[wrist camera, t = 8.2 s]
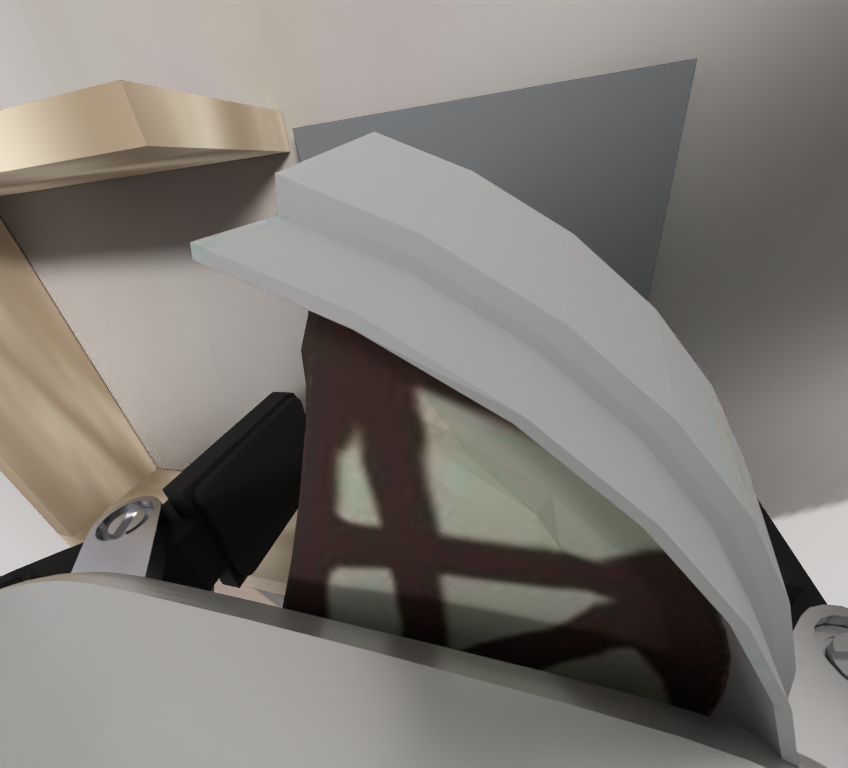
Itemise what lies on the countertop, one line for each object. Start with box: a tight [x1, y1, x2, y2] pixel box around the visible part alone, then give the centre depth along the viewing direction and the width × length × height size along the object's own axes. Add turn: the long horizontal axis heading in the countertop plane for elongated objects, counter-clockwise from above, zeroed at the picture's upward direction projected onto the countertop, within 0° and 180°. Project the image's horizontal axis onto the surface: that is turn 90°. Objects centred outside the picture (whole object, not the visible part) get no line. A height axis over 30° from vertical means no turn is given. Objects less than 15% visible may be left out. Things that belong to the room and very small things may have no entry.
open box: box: [0, 80, 298, 595], centre depth 15 cm, size 16×17×5 cm
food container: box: [190, 132, 799, 768], centre depth 9 cm, size 12×6×10 cm, turn 167°
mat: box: [293, 59, 697, 300], centre depth 13 cm, size 10×14×1 cm
